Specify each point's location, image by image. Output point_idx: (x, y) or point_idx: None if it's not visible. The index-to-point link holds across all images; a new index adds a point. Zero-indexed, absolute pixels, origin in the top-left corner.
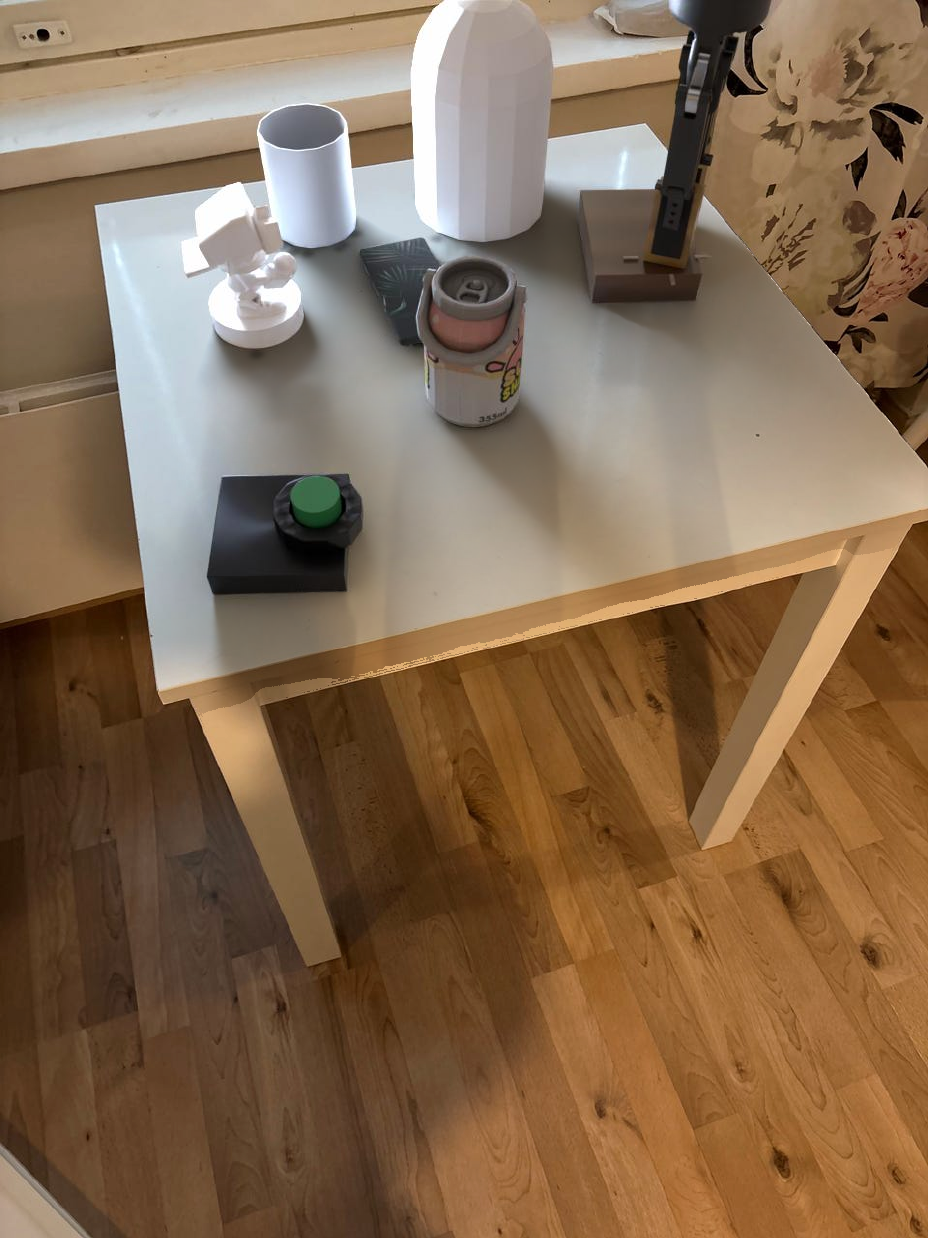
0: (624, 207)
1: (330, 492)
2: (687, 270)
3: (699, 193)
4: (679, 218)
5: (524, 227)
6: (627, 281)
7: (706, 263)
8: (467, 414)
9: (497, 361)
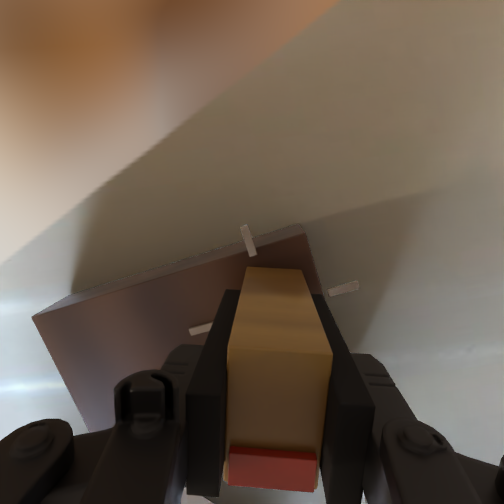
0: None
1: None
2: (301, 263)
3: (296, 361)
4: (392, 382)
5: (195, 498)
6: None
7: (184, 219)
8: None
9: None
